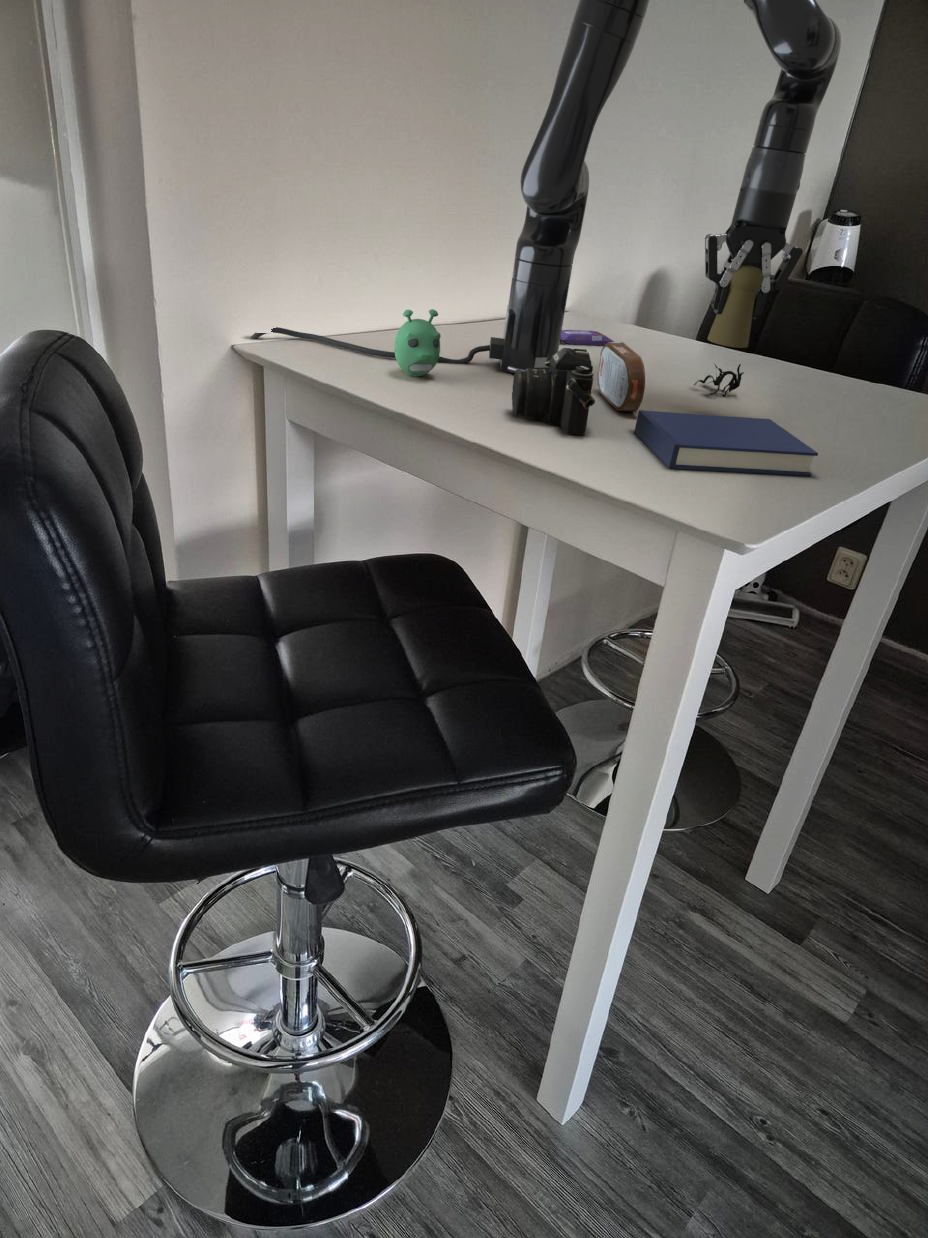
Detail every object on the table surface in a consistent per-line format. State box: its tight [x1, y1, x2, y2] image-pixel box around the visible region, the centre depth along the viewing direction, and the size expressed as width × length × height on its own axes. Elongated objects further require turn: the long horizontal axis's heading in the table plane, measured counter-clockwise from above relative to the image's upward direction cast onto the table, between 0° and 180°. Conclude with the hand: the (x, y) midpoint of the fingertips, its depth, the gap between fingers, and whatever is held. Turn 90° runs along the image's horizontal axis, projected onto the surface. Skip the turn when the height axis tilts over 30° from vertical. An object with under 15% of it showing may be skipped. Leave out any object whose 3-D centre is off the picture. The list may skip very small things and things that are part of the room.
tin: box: [597, 341, 646, 413], centre depth 134 cm, size 15×3×8 cm, turn 9°
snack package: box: [560, 329, 616, 346], centre depth 171 cm, size 12×2×5 cm
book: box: [633, 409, 819, 477], centre depth 119 cm, size 20×14×3 cm
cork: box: [707, 265, 764, 349], centre depth 128 cm, size 6×6×11 cm
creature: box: [693, 362, 745, 398], centre depth 148 cm, size 8×5×8 cm
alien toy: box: [394, 308, 442, 377], centre depth 134 cm, size 7×8×10 cm
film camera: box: [511, 347, 596, 436], centre depth 123 cm, size 18×12×10 cm
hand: (734, 314), depth 129 cm, fingers closed on cork, 4 cm apart
